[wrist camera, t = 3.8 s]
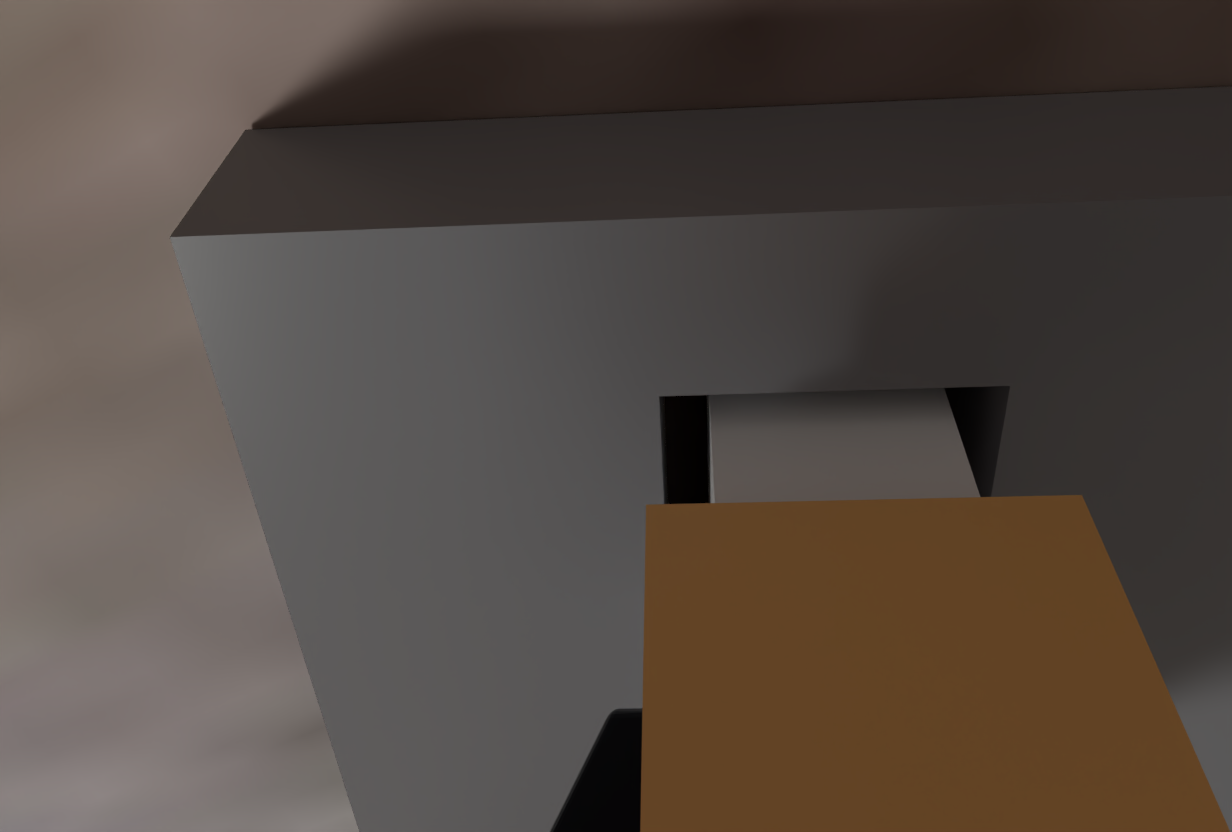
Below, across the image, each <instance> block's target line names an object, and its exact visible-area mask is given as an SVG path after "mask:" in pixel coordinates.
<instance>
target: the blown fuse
mask: <svg viewBox="0 0 1232 832" xmlns="http://www.w3.org/2000/svg"><path fill="white" fill-rule="evenodd" d="M707 463H708V503H697V504H652V505H646V536H645V593H644V649H643V706H642V763H641V820H640V832H1230V830H1229V828H1228V825H1227V823H1226V821H1225V819H1224V816H1223V814H1222V812H1221V810H1220V807H1219V805H1218V803H1217V800H1216V798H1215V796H1214V794H1213V791H1212V789H1211V787H1210V785H1209V782H1208V780H1207V778H1206V776H1205V773H1204V771H1203V769H1202V766H1201V764H1200V762H1199V760H1198V757H1197V755H1196V753H1195V751H1194V748H1193V746H1192V744H1191V741H1190V739H1189V737H1188V735H1187V732H1186V730H1185V728H1184V726H1183V723H1182V721H1181V719H1180V716H1179V714H1178V712H1177V710H1176V707H1175V705H1174V703H1173V701H1172V698H1171V696H1170V694H1169V692H1168V689H1167V687H1166V685H1165V682H1164V680H1163V678H1162V676H1161V673H1160V671H1159V669H1158V667H1157V664H1156V662H1155V660H1154V657H1153V655H1152V653H1151V651H1150V648H1149V646H1148V644H1147V642H1146V639H1145V637H1144V635H1143V632H1142V630H1141V628H1140V626H1139V623H1138V621H1137V619H1136V617H1135V614H1134V612H1133V610H1132V608H1131V605H1130V603H1129V601H1128V598H1127V596H1126V594H1125V592H1124V589H1123V587H1122V585H1121V583H1120V580H1119V578H1118V576H1117V573H1116V571H1115V569H1114V567H1113V564H1112V562H1111V560H1110V558H1109V555H1108V553H1107V551H1106V548H1105V546H1104V544H1103V542H1102V539H1101V537H1100V535H1099V533H1098V530H1097V528H1096V526H1095V524H1094V521H1093V519H1092V517H1091V514H1090V512H1089V510H1088V508H1087V505H1086V503H1085V501H1084V499H1083V496H1082V495H1057V496H1012V497H980V494H979V491H978V488H977V485H976V482H975V479H974V476H973V473H972V470H971V467H970V464H969V461H968V458H967V455H966V452H965V449H964V446H963V443H962V440H961V437H960V434H959V431H958V428H957V425H956V422H955V419H954V416H953V413H952V410H951V407H950V404H949V401H948V398H947V395H946V392H945V389H944V388H923V389H889V390H856V391H822V392H789V393H755V394H722V395H707Z"/></svg>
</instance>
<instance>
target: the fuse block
mask: <svg viewBox="0 0 1232 832" xmlns="http://www.w3.org/2000/svg"><path fill="white" fill-rule="evenodd" d="M170 239H171V242H172V245H173V249H174V252H175V255H176V258H177V261H178V264H179V267H180V271H181V274H182V277H183V280H184V283H185V286H186V289H187V292H188V296H189V299H190V302H191V305H192V308H193V311H194V314H195V318H196V321H197V324H198V327H199V330H200V333H201V336H202V340H203V343H204V346H205V349H206V352H207V355H208V358H209V361H210V365H211V368H212V371H213V374H214V377H215V380H216V383H217V387H218V390H219V393H220V396H221V399H222V402H223V405H224V408H225V412H226V415H227V418H228V421H229V424H230V427H231V430H232V434H233V437H234V440H235V443H236V446H237V449H238V452H239V456H240V459H241V462H242V465H243V468H244V471H245V474H246V477H247V481H248V484H249V487H250V490H251V493H252V496H253V499H254V503H255V506H256V509H257V512H258V515H259V518H260V521H261V525H262V528H263V531H264V534H265V537H266V540H267V543H268V546H269V550H270V553H271V556H272V559H273V562H274V565H275V568H276V572H277V575H278V578H279V581H280V584H281V587H282V590H283V593H284V597H285V600H286V603H287V606H288V609H289V612H290V615H291V619H292V622H293V625H294V628H295V631H296V634H297V637H298V641H299V644H300V647H301V650H302V653H303V656H304V659H305V662H306V666H307V669H308V672H309V675H310V678H311V681H312V684H313V688H314V691H315V694H316V697H317V700H318V703H319V706H320V709H321V713H322V716H323V719H324V722H325V725H326V728H327V731H328V735H329V738H330V741H331V744H332V747H333V750H334V753H335V757H336V760H337V763H338V766H339V769H340V772H341V775H342V778H343V782H344V785H345V788H346V791H347V794H348V797H349V800H350V804H351V807H352V810H353V813H354V816H355V819H356V822H357V826H358V829H359V832H550V830H551V828H552V826H553V824H554V822H555V820H556V818H557V816H558V814H559V812H560V810H561V808H562V806H563V804H564V802H565V800H566V798H567V796H568V794H569V792H570V790H571V788H572V786H573V784H574V782H575V780H576V778H577V776H578V774H579V772H580V770H581V768H582V766H583V764H584V762H585V760H586V758H587V756H588V754H589V752H590V750H591V748H592V746H593V744H594V742H595V740H596V738H597V736H598V734H599V732H600V730H601V728H602V726H603V724H604V722H605V720H606V718H607V717H608V715H609V714H610V713H611V712H612V711H613V710H615V709H621V708H642V706H643V649H644V593H645V536H646V505H652V504H669V502H668V477H667V453H666V429H665V405H664V396H689V395H722V394H755V393H789V392H822V391H856V390H889V389H923V388H944V389H945V392H946V395H947V398H948V401H949V404H950V407H951V410H952V413H953V416H954V419H955V422H956V425H957V428H958V431H959V434H960V437H961V440H962V443H963V446H964V449H965V452H966V455H967V458H968V461H969V464H970V467H971V470H972V473H973V476H974V479H975V482H976V485H977V488H978V491H979V494H980V497H1012V496H1057V495H1082V496H1083V499H1084V501H1085V503H1086V505H1087V508H1088V510H1089V512H1090V514H1091V517H1092V519H1093V521H1094V524H1095V526H1096V528H1097V530H1098V533H1099V535H1100V537H1101V539H1102V542H1103V544H1104V546H1105V548H1106V551H1107V553H1108V555H1109V558H1110V560H1111V562H1112V564H1113V567H1114V569H1115V571H1116V573H1117V576H1118V578H1119V580H1120V583H1121V585H1122V587H1123V589H1124V592H1125V594H1126V596H1127V598H1128V601H1129V603H1130V605H1131V608H1132V610H1133V612H1134V614H1135V617H1136V619H1137V621H1138V623H1139V626H1140V628H1141V630H1142V632H1143V635H1144V637H1145V639H1146V642H1147V644H1148V646H1149V648H1150V651H1151V653H1152V655H1153V657H1154V660H1155V662H1156V664H1157V667H1158V669H1159V671H1160V673H1161V676H1162V678H1163V680H1164V682H1165V685H1166V687H1167V689H1168V692H1169V694H1170V696H1171V698H1172V701H1173V703H1174V705H1175V707H1176V710H1177V712H1178V714H1179V716H1180V719H1181V721H1182V723H1183V726H1184V728H1185V730H1186V732H1187V735H1188V737H1189V739H1190V741H1191V744H1192V746H1193V748H1194V751H1195V753H1196V755H1197V757H1198V760H1199V762H1200V764H1201V766H1202V769H1203V771H1204V773H1205V776H1206V778H1207V780H1208V782H1209V785H1210V787H1211V789H1212V791H1213V794H1214V796H1215V798H1216V800H1217V803H1218V805H1219V807H1220V810H1221V812H1222V814H1223V816H1224V819H1225V821H1226V823H1227V825H1228V828H1229V830H1230V832H1232V86H1228V87H1205V88H1182V89H1160V90H1137V91H1114V92H1092V93H1069V94H1046V95H1024V96H1001V97H978V98H956V99H933V100H910V101H888V102H865V103H842V104H820V105H797V106H774V107H752V108H729V109H706V110H684V111H661V112H638V113H615V114H593V115H570V116H547V117H525V118H502V119H479V120H457V121H434V122H411V123H389V124H366V125H343V126H321V127H298V128H275V129H253V130H245V131H244V133H243V134H242V136H241V137H240V138H239V140H238V141H237V143H236V144H235V145H234V147H233V148H232V150H231V151H230V153H229V154H228V155H227V157H226V158H225V160H224V161H223V162H222V164H221V165H220V167H219V168H218V170H217V171H216V172H215V174H214V175H213V177H212V178H211V179H210V181H209V182H208V184H207V185H206V187H205V188H204V189H203V191H202V192H201V194H200V195H199V196H198V198H197V199H196V201H195V202H194V204H193V205H192V206H191V208H190V209H189V211H188V212H187V213H186V215H185V216H184V218H183V219H182V221H181V222H180V223H179V225H178V226H177V228H176V229H175V230H174V232H173V233H172V235H171V236H170Z"/></svg>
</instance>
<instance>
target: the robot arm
mask: <svg viewBox="0 0 1232 832" xmlns="http://www.w3.org/2000/svg"><path fill="white" fill-rule="evenodd" d="M641 763H642V708H621V709H615V710H613V711H612V712H611V713H610V714H609V715H608V717H607V718H606V720H605V722H604V724H603V726H602V728H601V730H600V732H599V734H598V736H597V738H596V740H595V742H594V744H593V746H592V748H591V750H590V752H589V754H588V756H587V758H586V760H585V762H584V764H583V766H582V768H581V770H580V772H579V774H578V776H577V778H576V780H575V782H574V784H573V786H572V788H571V790H570V792H569V794H568V796H567V798H566V800H565V802H564V804H563V806H562V808H561V810H560V812H559V814H558V816H557V818H556V820H555V822H554V824H553V826H552V828H551V830H550V832H640V820H641Z"/></svg>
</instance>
